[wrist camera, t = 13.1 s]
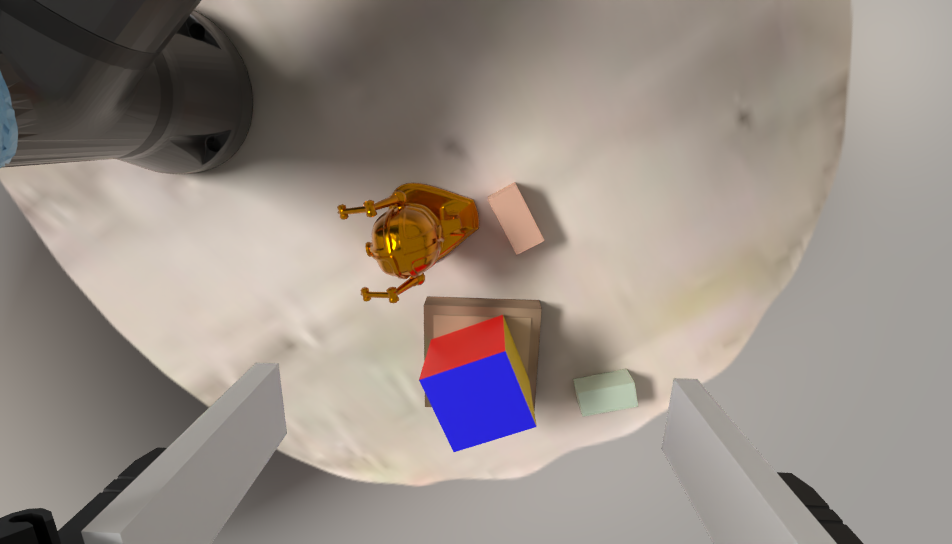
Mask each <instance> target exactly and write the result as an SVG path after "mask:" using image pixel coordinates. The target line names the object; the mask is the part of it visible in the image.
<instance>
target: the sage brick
mask: <svg viewBox="0 0 952 544" xmlns="http://www.w3.org/2000/svg"><path fill="white" fill-rule="evenodd" d="M573 380H574V385H575V390H576V395H577V400H578V404H579V407H580V410H581V413H582V416H583V417H584V416H589V415H594V414H600V413H605V412H611V411H616V410H622V409H627V408H633V407H638V402H637V396H636V389H635V383H634V381H633V379H632V377H631V376H630V374H629V372H628V370H627V369H624V370H618V371H613V372H608V373H603V374H598V375H593V376H587V377H582V378H577V379H573Z"/></svg>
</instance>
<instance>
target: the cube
mask: <svg viewBox="0 0 952 544" xmlns="http://www.w3.org/2000/svg"><path fill="white" fill-rule="evenodd" d="M419 381H420V383H421V385H422V387H423V389H424V391H425V393H426V395H427V397H428V400H429V402H430V404H431V406H432V408H433V410H434V412H435V414H436V416H437V418H438V420H439V422H440V425H441V427H442V429H443V431H444V433H445V435H446V437H447V439H448V441H449V443H450V445H451V447H452V450H453V452H456V451H460V450H463V449H466V448H469V447H473V446H476V445H479V444H482V443H486V442H489V441H492V440H495V439H499V438H502V437H505V436H508V435H512V434H515V433H518V432H521V431H525V430H528V429H531V428H534V427H536V420H535V414H534V408H533V401H532V395H531V389H530V382H529V378H528V376H527V373H526V371H525V368H524V366H523V363H522V361H521V358H520V356H519V353H518V351H517V348H516V346H515V343H514V341H513V338H512V336H511V333H510V331H509V328H508V326H507V323H506V321H505V318H504V316H503V315H500V316H497V317H495V318H492V319H489V320H486V321H483V322H480V323H477V324H474V325H472V326H469V327H466V328H463V329H460V330H457V331H454V332H451V333H449V334H446V335H443V336H440V337H437V338H434V339H431V341H430V345H429V348H428V351H427V355H426V358H425V362H424V365H423V368H422V372H421V375H420V379H419Z"/></svg>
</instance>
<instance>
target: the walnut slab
mask: <svg viewBox="0 0 952 544" xmlns="http://www.w3.org/2000/svg"><path fill="white" fill-rule="evenodd" d="M541 310H542V309H541V305H540V302H539V300H515V299H485V298H455V297H427V298H426V301H425V303H424V360H425V358H426V355H427V351H428V348H429V345H430V341H431V339H434V338H437V337H440V336H443V335H446V334H449V333H451V332H454V331H457V330H460V329H463V328H466V327H469V326H472V325H474V324H477V323H480V322H483V321H486V320H489V319H492V318H495V317H497V316H500V315H503V316H504V318H505V321H506V323H507V326H508V328H509V331H510V333H511V336H512V338H513V341H514V343H515V346H516V348H517V351H518V353H519V356H520V358H521V361H522V363H523V366H524V368H525V371H526V373H527V376H528V378H529V382H530V389H531V395H532V401H533V408H535V394H536V380H537V366H538V352H539V338H540V324H541ZM425 407H432V406H431V404H430V402H429V400H428V397H427V395H426V393H425Z"/></svg>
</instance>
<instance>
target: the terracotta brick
mask: <svg viewBox="0 0 952 544" xmlns="http://www.w3.org/2000/svg"><path fill="white" fill-rule="evenodd" d="M488 201H489V203H490V205H491V207H492V209H493V211H494V213H495V215H496V217H497V219H498V220H499V222H500V224H501V226H502V228H503V230H504V232H505V234H506V236H507V237H508V239H509V241H510V243H511V245H512V247H513V249H514V251H515V253H516V255H518V254H520V253H522V252H524V251H526V250H528V249H529V248H531V247H533V246H535V245H537V244H539V243H541V242H543V241H544V239H543V237H542V235H541V233H540V231H539V229H538V227H537V225H536V223H535V221H534V219H533V217H532V215H531V213H530V211H529V209H528V207H527V205H526V203H525V201H524V199H523V197H522V195H521V193H520V191H519V189H518V187H517V185H516V183H515V182H514V183H512V184H511V185H509V186H507V187H505V188H503V189H501V190H499V191H497V192H496V193H494V194H492V195H490V196H488Z"/></svg>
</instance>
